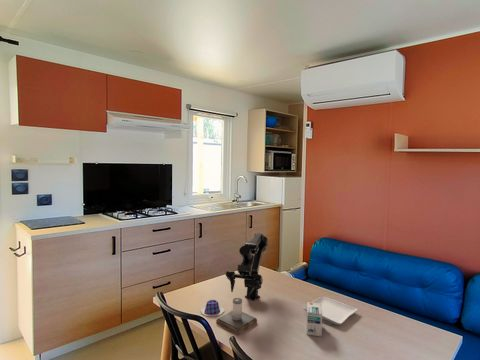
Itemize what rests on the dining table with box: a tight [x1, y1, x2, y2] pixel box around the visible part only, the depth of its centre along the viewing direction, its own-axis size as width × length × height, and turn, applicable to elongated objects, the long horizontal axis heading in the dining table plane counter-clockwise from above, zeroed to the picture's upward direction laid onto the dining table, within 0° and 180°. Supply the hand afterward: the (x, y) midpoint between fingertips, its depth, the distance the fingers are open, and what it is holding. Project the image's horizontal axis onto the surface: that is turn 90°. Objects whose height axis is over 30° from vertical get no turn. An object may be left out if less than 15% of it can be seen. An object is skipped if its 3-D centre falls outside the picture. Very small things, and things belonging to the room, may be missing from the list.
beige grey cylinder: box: [231, 297, 243, 320], centre depth 149 cm, size 4×4×9 cm
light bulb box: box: [306, 301, 323, 337], centre depth 145 cm, size 11×7×11 cm, turn 168°
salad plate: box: [302, 295, 359, 326], centre depth 161 cm, size 21×21×3 cm
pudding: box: [200, 299, 225, 317], centre depth 160 cm, size 12×12×5 cm
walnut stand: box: [215, 310, 258, 336], centre depth 149 cm, size 14×14×2 cm
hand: (240, 293), depth 153 cm, fingers open, 9 cm apart
